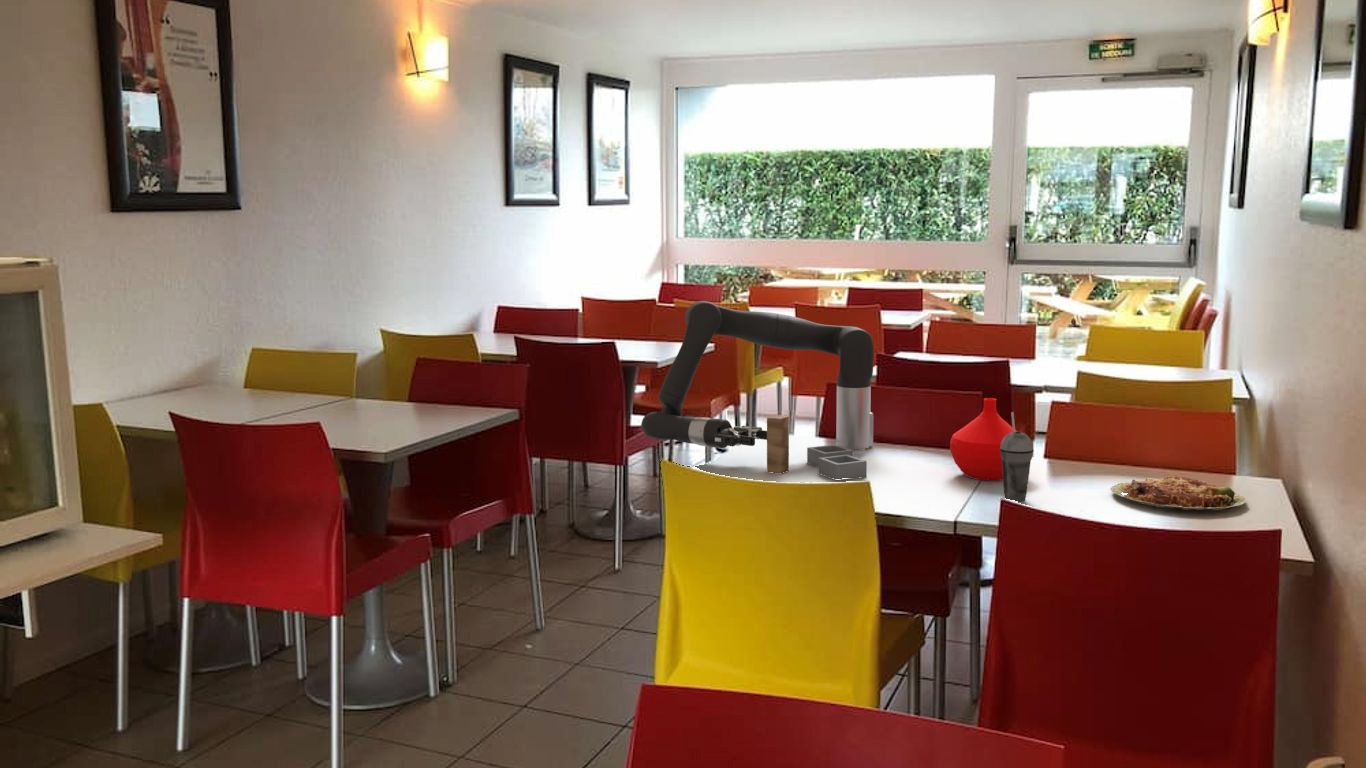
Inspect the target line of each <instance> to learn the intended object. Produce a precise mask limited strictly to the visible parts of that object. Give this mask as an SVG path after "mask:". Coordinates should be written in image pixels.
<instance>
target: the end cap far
mask: <svg viewBox="0 0 1366 768" xmlns="http://www.w3.org/2000/svg"><path fill="white" fill-rule="evenodd" d="M806 453H807V454H806V456H807V457H806V462H807V464H809V463H810V465H813V466H815V467H817V468H819V458H823V457H831V456H840V455H850V456H853V457H854V450H850V449H847V448H844V447H841V446H838V445H836V444H829V445H828V444H827V445H826V444H825V445H817V446H810V447H809V446H808V447H806Z"/></svg>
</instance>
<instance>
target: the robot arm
mask: <svg viewBox="0 0 1366 768" xmlns="http://www.w3.org/2000/svg"><path fill="white" fill-rule="evenodd" d="M684 317H685V318H684V319H685V321H684V322H685V323H686V326H687V327H686V329H685V333H684V338H683V341H682V343H681V346H680V348H679V350H678V352H677V355H676V357H675V358H674V360H673V362H672V364H671V366H670V367H669V370H668V372H667V373H666V376H665V377H664V381H663V383H662V386H661V387H660V391H659V393H658V396H657V397H658V402H659V403H660V404H662V408H661V412H658V411H652V412H649V413H647V414H646V415H645V416H644V417H643V418H642V421H641V426H640V427H641V429H642V430H641V431H642V432H643V433H644V435H645V436H647V437H649V438H652V439H656V440H660V441H662V442H663V441H664V442H667V441H670V440H674V441H677V442H680V443H684V444H692V445H693V444H694V445H697V446H701V447H708V448H715V449H726V448H727V447H732V448H733V447H735V446H748V447H754V446H755V445H756V440H763V441H764V440H765V441H767V430H763V428H762V426H750V425H749V426H748V425H742V426H738V425H737V426H732V425H731V422H730V421H729V420H727V419H724V418H723V419H722V418H713V417H704V416H702V417H697V416H696V417H695V416H684V415H683V416H682V412H683V406H684V405H683V404H684V402H685V400H686V397H687V395H688V392H689V390H690V387H691V385H692V382H693V379H694V377H695V374H696V373H697V368H698V366H699V364H700V361H701V360H702V357H703V355H704V353H705V351H706V349H707V347H708V345H709V344H710V342H711V341H712V338H713V337H714V336H726V337H731V338H733V337H734V338H736V339H740V340H744V341H746V342H750V343H753V344H757V345H761V346H764V347H768V348H776V349H781V350H790V351H791V350H792V351H807V350H808V351H810V350H811V351H812V350H813V351H817V352H818V351H819V352H824V353H827V354H831V355H835V356H839V370H838V374H837V376H836V423H835V425H836V433H835V435H836V436H835V442H836V443H835V445H838V446H841V447H844V448H847V449H850V450H853V451H860V449H862V450H866V449H865V448H867V449H869V448H868V447H869V446H872V445H873V446H874V413H873V412H871V399H872V398H871V389H872V388H871V386H872V385H871V384H872V383H871V382H872V379H873V378H872V377H873V374H874V352H875V347H874V346H875V345H874V340H873V337H872V335H871V334H870V333H869V332H868V331H866V330H865V329H862V328H860V327H857V326H851V325H850V326H848V325H846V326H845V325H844V326H843V325H829V324H821V323H817V322H813V321H810V320H807V319H805V318H804V319H803V318H800V317H796V316H792V315H788V314H782V313H774V312H768V311H767V312H766V311H753V310H751V311H749V310H738V309H737V310H736V309H732V308H727V307H724V306H720V305H717V304H714V303H713V302H711V301H708V300H707V301H706V300H700V301H697V302H694V303H692V304H691V305H689V307H688V308H687V309H686V311H685V314H684Z"/></svg>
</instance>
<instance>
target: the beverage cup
mask: <svg viewBox="0 0 1366 768" xmlns="http://www.w3.org/2000/svg"><path fill="white" fill-rule="evenodd" d="M1014 413H1015V412H1014V411H1012V412H1010V414H1011V415H1010V416H1011V427H1013V432H1011V433H1009V434H1007V435H1006V436H1005V437H1004V438H1003V440H1002V442H1001V446H1000V454H1001V458H1002V471H1003V480H1002V486H1003V496H1004V498H1006V499H1010V500H1015V501H1018V502H1022V503H1025V502H1026V497H1027V493H1028V485H1029V479H1030V478H1029V477H1030V469H1031V461H1032V458H1033V454H1034V445H1033V442H1032V439H1031V438H1030V437H1029V435H1027V434H1026V433H1024V432H1022V431H1018V432H1015V430H1016V426H1015V425H1016V424H1015V414H1014Z"/></svg>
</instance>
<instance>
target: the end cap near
mask: <svg viewBox="0 0 1366 768" xmlns="http://www.w3.org/2000/svg"><path fill="white" fill-rule="evenodd" d="M867 463H868V462H867V460H864V459H862V458H859V457H856V456H854V455H853V456H850V455H840V456H831V457H823V458H819V467H818V471H817V472H818V473H819V475H820V474H822V475H821V476H823V475H825V476H824V477H826V476H827V477H826V478H828V477H830V478H829V479H831V478H834V479H842V478H856V479H860V478H859V477H863V478H867V473H868V472H867V470H868V468H867V467H868V466H867ZM835 481H836V482H838V481H841V480H835Z"/></svg>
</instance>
